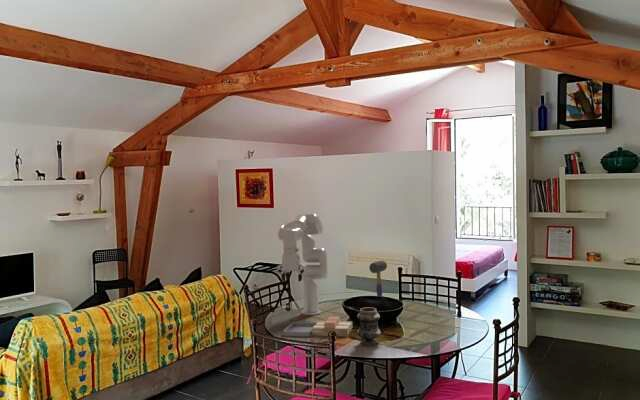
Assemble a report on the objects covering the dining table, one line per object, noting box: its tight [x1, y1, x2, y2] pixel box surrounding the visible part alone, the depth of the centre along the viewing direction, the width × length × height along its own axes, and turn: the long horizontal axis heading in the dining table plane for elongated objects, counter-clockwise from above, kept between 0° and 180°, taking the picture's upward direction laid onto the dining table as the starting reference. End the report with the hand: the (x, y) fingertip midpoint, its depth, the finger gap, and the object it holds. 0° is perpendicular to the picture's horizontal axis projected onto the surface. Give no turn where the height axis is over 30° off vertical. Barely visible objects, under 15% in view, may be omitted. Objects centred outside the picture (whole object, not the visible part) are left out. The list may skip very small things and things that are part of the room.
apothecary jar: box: [356, 306, 382, 347], centre depth 263 cm, size 12×12×18 cm
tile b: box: [324, 319, 337, 328], centre depth 283 cm, size 6×6×3 cm
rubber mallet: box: [368, 260, 388, 298], centre depth 341 cm, size 12×8×30 cm, turn 141°
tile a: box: [326, 316, 341, 325], centre depth 290 cm, size 6×6×3 cm
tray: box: [282, 321, 318, 338], centre depth 291 cm, size 19×16×2 cm
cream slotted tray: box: [311, 320, 354, 337], centre depth 287 cm, size 15×20×4 cm
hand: (291, 280), depth 287 cm, fingers open, 9 cm apart
